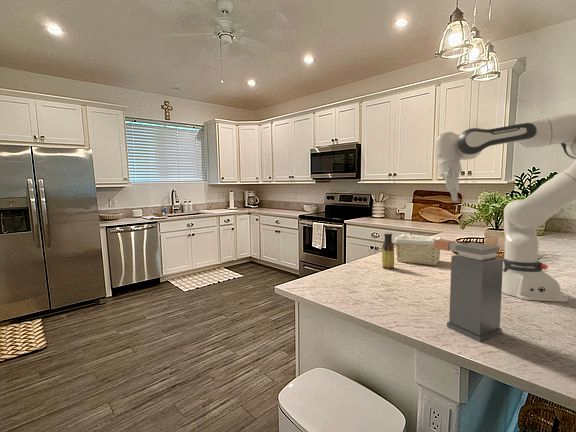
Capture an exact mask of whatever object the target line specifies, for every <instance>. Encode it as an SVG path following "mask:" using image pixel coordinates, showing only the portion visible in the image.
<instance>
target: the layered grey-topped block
mask: <svg viewBox="0 0 576 432" xmlns="http://www.w3.org/2000/svg"><path fill="white" fill-rule="evenodd" d="M434 248H436V249H440V251H441V250H442V251H445V252H450V251H451V252H455V253H457V255H458V257H462V258H467V259H471V260H476V261H480V262H483V261H488V260H492V259H496V257H497V253H500V246H495V245H490V244H484V243H479V242H472V241H471V242H466V243H462V242H456V241H455V240H450V239H443V238H442V239H438V240H434Z"/></svg>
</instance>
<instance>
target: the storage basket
mask: <svg viewBox="0 0 576 432" xmlns="http://www.w3.org/2000/svg"><path fill="white" fill-rule="evenodd" d="M438 239H443V238H442V236H431V235H416V234H405V233H402V234H399V235H398V236H396V237H395V238H394V243H395V248H396V250H395V251H396V253H395V254H396V261H397V262H400V263H407V262H408V263H409V264H418V265H427V266H428V265H429V266H436V265H437V264H438V263H439V261H440V257H441V249H436V248H434V240H438Z"/></svg>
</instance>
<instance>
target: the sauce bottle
mask: <svg viewBox="0 0 576 432" xmlns="http://www.w3.org/2000/svg"><path fill="white" fill-rule="evenodd" d="M383 235H384V242H383V244H382V252H381V253H382V256H381V257H382V260H381V263H382V268H383V269H386V270H392V269H394V267H395V246H394V243H393V240H392V239H393V238H392V237H393V233H392V232H384V234H383Z"/></svg>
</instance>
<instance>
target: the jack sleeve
mask: <svg viewBox="0 0 576 432" xmlns="http://www.w3.org/2000/svg"><path fill="white" fill-rule="evenodd" d="M503 258H504V257H498V256H496V259H492V260H488V261H483V262H480V261H476V260H471V259H467V258H462V257H458V254H455V255H451V259H450V260H451V262H450V263H451V264H450V287H449V288H450V293H449V321H447V322H446V327H447V328H448V329H451V330H453V331H455V332H457V333H460V334H461V335H464V336H466V337H469V338H471V339H473V340H475V341H477V342H479V343H482V342H484V341H487V340H489V339H492V338H494V337H496V336H498V335H501V334H503V328H501V309H502V293H503V292H502V274H503Z"/></svg>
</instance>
